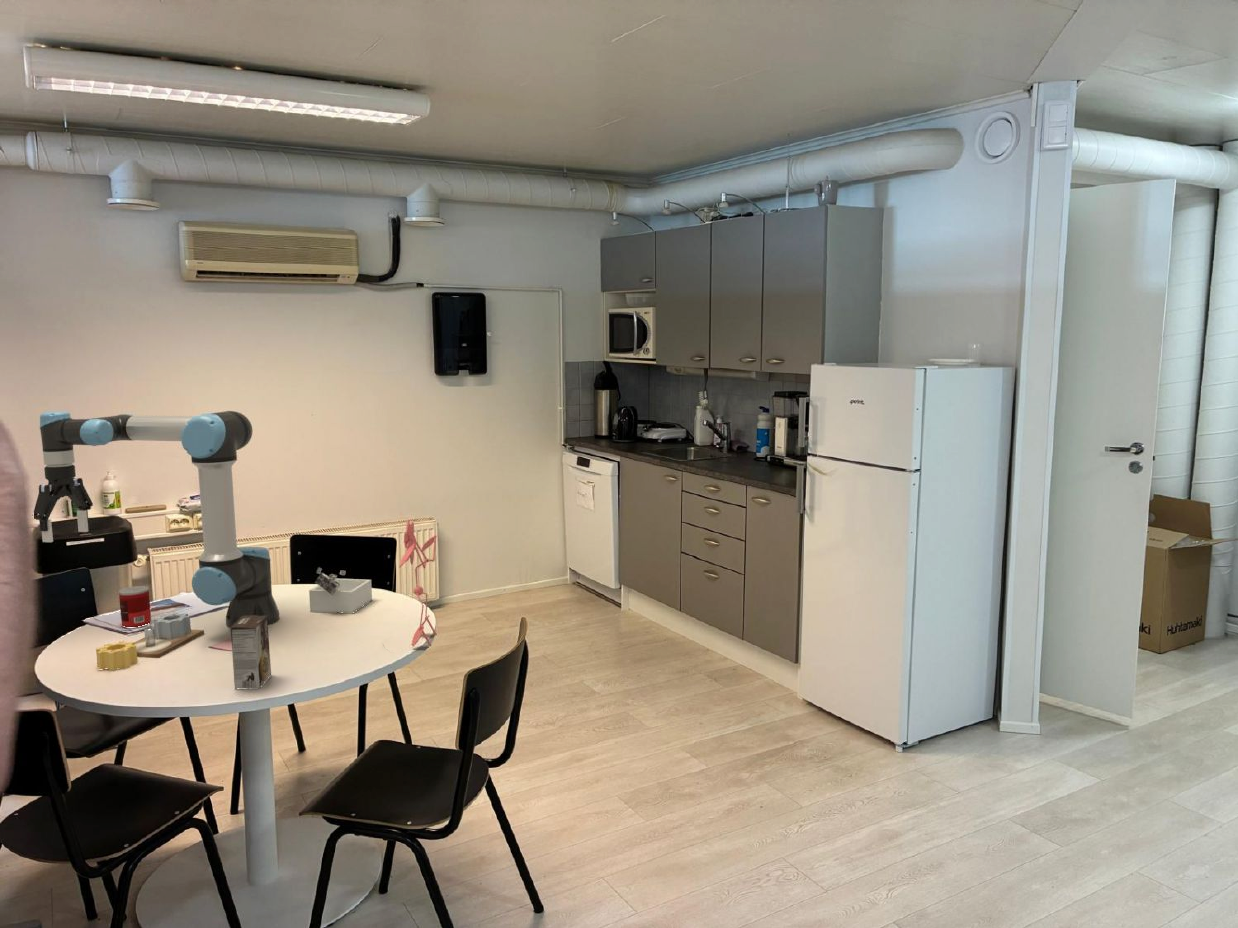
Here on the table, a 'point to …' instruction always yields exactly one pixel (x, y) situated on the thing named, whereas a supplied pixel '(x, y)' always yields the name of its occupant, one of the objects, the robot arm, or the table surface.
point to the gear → (172, 626)
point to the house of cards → (328, 581)
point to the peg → (149, 636)
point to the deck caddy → (341, 596)
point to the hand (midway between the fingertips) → (66, 536)
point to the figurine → (411, 546)
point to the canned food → (135, 606)
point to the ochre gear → (116, 655)
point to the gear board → (165, 645)
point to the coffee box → (250, 651)
